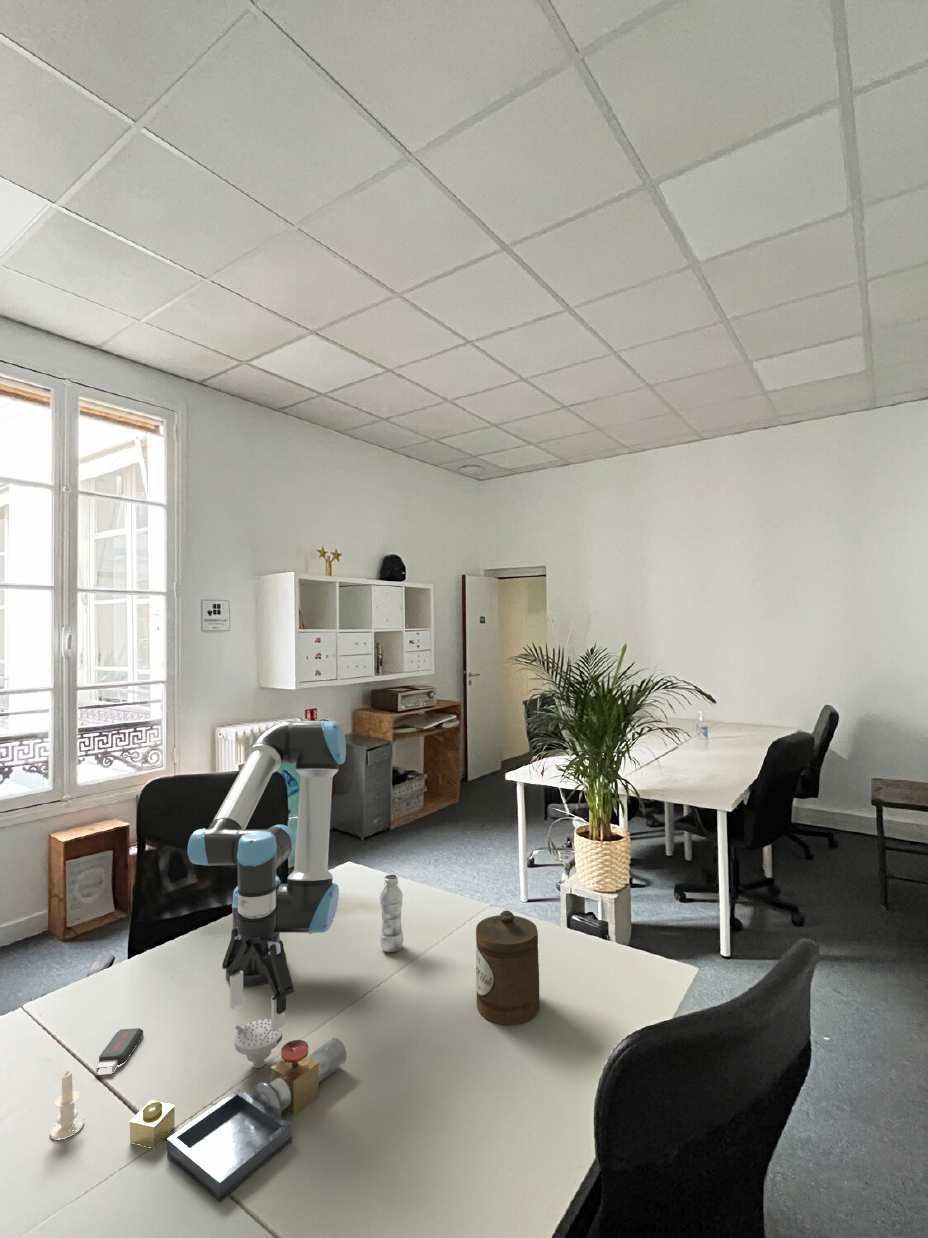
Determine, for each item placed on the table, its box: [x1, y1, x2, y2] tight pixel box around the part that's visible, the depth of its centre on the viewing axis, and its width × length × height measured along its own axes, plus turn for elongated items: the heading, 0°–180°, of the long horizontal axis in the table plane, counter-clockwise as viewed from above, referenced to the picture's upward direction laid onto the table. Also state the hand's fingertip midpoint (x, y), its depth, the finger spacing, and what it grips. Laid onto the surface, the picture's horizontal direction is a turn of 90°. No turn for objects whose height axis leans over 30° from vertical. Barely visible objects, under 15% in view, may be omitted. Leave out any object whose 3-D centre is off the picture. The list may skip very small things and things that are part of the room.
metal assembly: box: [166, 1037, 348, 1203], centre depth 116 cm, size 15×32×10 cm, turn 145°
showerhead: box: [233, 1018, 284, 1069], centre depth 130 cm, size 9×7×10 cm
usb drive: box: [95, 1027, 144, 1074], centre depth 133 cm, size 5×12×3 cm, turn 5°
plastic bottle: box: [379, 874, 404, 953], centre depth 175 cm, size 6×7×20 cm
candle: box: [49, 1070, 82, 1139], centre depth 113 cm, size 5×5×10 cm
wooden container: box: [475, 910, 541, 1026], centre depth 149 cm, size 15×15×22 cm
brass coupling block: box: [129, 1100, 176, 1149], centre depth 112 cm, size 5×5×5 cm
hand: (256, 1016), depth 129 cm, fingers open, 13 cm apart
